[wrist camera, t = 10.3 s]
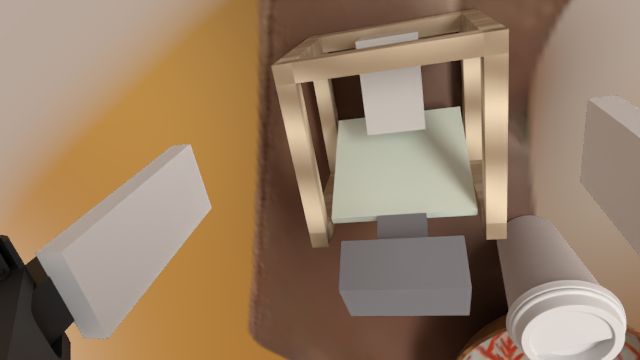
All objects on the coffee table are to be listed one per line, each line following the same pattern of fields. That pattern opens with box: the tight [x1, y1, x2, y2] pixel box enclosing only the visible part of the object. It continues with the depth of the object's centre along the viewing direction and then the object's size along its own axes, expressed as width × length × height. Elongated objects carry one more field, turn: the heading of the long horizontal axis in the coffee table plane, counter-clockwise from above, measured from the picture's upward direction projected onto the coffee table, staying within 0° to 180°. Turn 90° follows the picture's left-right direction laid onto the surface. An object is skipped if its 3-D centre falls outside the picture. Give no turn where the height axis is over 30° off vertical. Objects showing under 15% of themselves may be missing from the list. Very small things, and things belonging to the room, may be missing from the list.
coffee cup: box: [497, 215, 626, 360], centre depth 42 cm, size 10×10×15 cm
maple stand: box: [271, 9, 509, 248], centre depth 38 cm, size 16×16×14 cm
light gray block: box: [355, 28, 425, 135], centre depth 38 cm, size 6×5×8 cm
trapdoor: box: [331, 106, 478, 316], centre depth 37 cm, size 20×12×5 cm
